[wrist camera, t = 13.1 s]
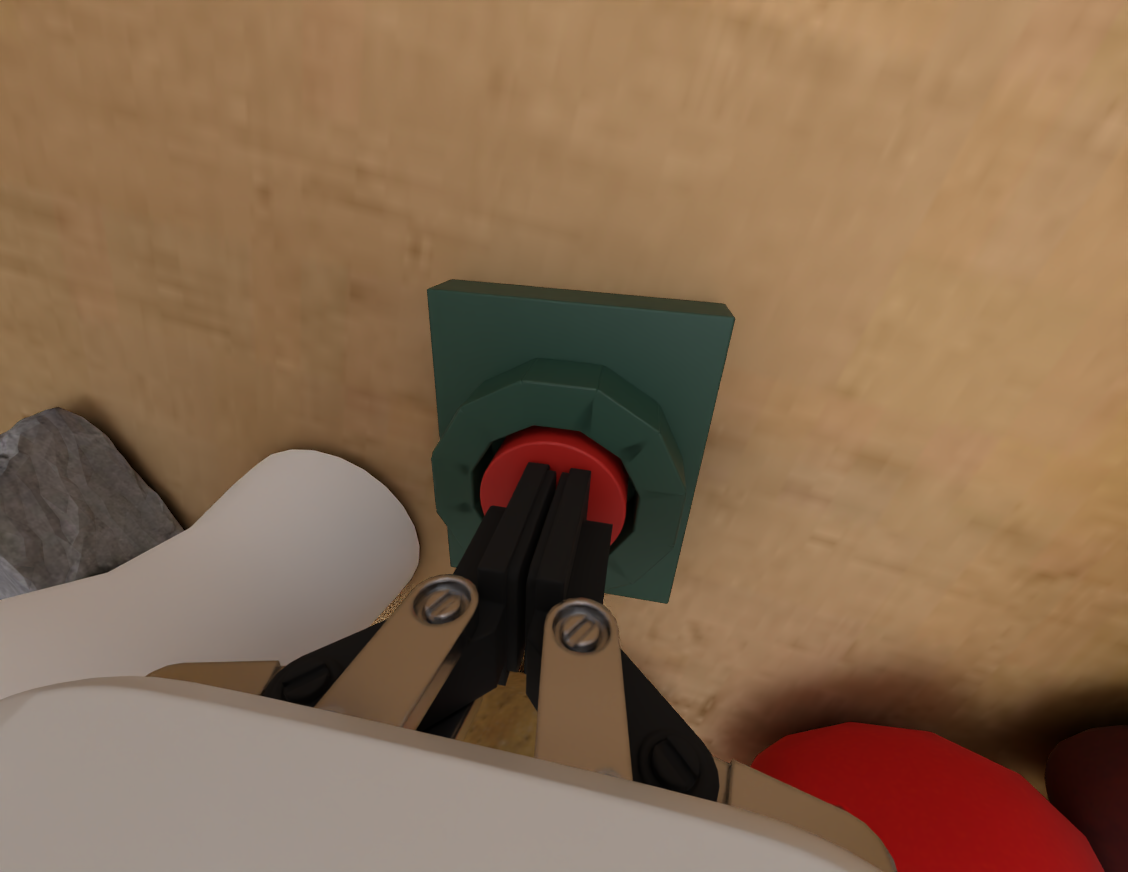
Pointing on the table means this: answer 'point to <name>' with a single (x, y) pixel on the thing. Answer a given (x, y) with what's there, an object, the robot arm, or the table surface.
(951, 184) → the table surface
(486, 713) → the potato
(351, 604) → the cup
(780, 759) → the tomato
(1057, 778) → the potato
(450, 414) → the button box
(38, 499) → the decorative rock
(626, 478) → the red button
